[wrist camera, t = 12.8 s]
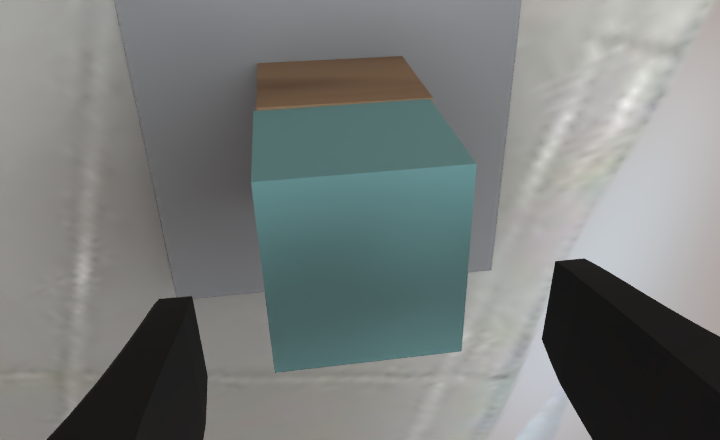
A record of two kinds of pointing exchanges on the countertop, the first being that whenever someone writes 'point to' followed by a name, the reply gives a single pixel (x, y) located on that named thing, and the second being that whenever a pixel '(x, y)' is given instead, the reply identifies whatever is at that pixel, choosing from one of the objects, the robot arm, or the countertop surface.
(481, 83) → the baseplate
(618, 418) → the robot arm
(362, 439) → the countertop surface
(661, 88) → the countertop surface
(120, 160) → the countertop surface
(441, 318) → the teal brick
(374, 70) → the walnut brick
